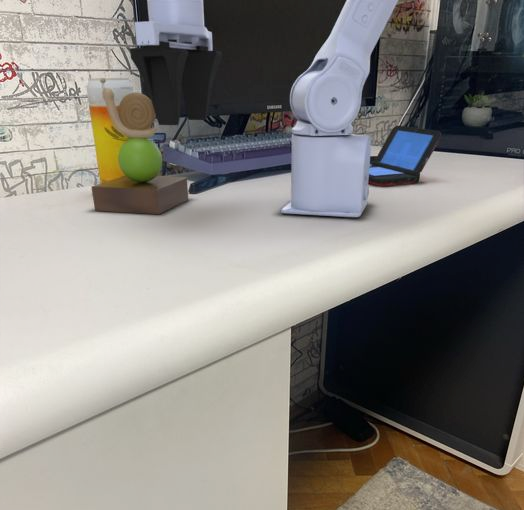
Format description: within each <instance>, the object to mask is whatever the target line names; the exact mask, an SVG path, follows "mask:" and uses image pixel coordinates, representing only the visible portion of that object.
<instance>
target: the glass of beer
mask: <svg viewBox="0 0 524 510" xmlns="http://www.w3.org/2000/svg"><path fill="white" fill-rule="evenodd" d="M100 78H101V77H88V79H87V80H88V81H87V84H86V94H87V102H88V109H89V115H90V122H91V129H92V136H93V143H94V150H95V155H96V157H95V158H96V162H97V170H98V176H99V184H101V183H104V182H107V181H110V180H114V179H117V178H120V177H123V176H126V175H125V174H124V173H123V172H122V170H121V168H120V166H119V162H118V154H119V150H120V148H121V146H122V145H123V144H124V143H125V142H126V141H127V140H129V139H131V138H129V137H127V136H125V135H123V134H122V133H120V132H119V131H118V130H117V129H116V127H115V126H114V124H113V122H112V120H111V118H110V115H109V112H108V110H107V106H106V103H105V100H104V99H103V94H102V92H103V89H104V88H105V89H106V88H109V89H111V90H112V91H113V92H114V102H115V105H116V108H117V110H118V112H119V105H120V102H121V101H122V99H123V98H124V97H125V96H126V95H128V94H130V93H134V86H133V85H132V83H131V81H130V77H104V78H105V80H106V82H105V83H104V85H103V88H102V83H101V82H100Z"/></svg>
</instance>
